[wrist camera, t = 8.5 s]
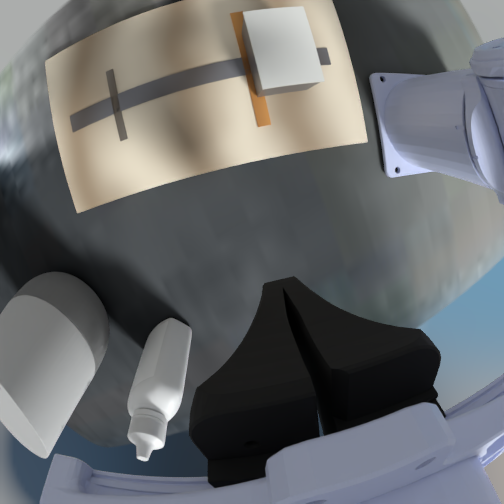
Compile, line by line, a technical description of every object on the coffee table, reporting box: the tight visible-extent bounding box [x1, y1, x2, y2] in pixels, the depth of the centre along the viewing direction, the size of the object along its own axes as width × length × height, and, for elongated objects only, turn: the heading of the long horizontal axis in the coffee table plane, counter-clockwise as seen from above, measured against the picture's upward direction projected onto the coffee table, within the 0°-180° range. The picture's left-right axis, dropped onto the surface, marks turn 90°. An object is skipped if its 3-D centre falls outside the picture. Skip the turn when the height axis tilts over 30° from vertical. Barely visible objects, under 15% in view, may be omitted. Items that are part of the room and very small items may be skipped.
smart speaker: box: [0, 272, 109, 458], centre depth 15 cm, size 10×9×14 cm
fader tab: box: [242, 6, 325, 97], centre depth 12 cm, size 3×4×3 cm
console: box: [45, 0, 368, 213], centre depth 15 cm, size 20×12×2 cm, turn 102°
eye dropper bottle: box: [127, 318, 192, 461], centre depth 18 cm, size 4×6×12 cm
